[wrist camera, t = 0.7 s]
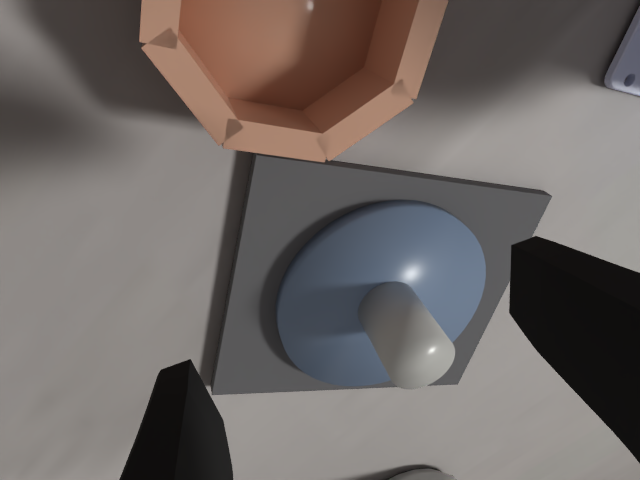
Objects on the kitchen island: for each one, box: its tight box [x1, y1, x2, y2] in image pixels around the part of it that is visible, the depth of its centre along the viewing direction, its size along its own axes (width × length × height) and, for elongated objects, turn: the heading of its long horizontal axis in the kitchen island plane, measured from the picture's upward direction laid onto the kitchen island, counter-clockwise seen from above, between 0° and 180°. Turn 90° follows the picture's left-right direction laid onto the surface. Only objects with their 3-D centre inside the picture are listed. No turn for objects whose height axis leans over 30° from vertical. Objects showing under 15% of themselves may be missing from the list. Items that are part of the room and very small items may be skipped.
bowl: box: [139, 0, 449, 162], centre depth 14 cm, size 8×8×3 cm
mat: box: [211, 153, 552, 395], centre depth 22 cm, size 14×12×1 cm
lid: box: [276, 200, 486, 389], centre depth 20 cm, size 10×10×4 cm
